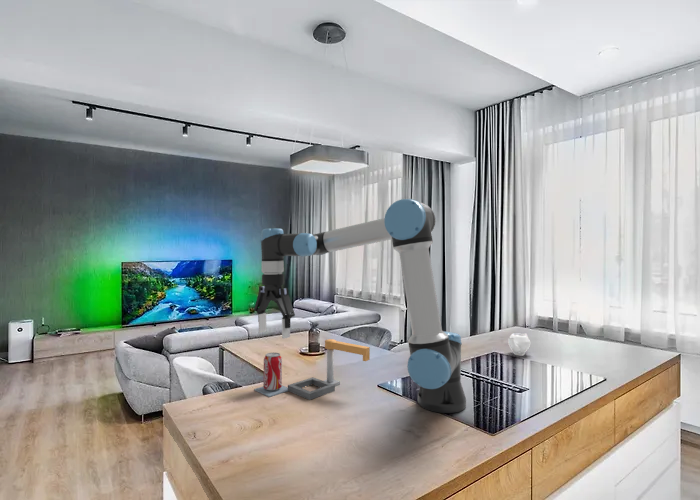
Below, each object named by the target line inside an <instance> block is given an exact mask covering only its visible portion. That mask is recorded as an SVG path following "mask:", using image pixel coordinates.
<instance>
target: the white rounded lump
mask: <svg viewBox="0 0 700 500" xmlns="http://www.w3.org/2000/svg"><path fill="white" fill-rule="evenodd" d="M507 344H508V346H509V348H510V350H511V351H512V353H513V355H514V356H521V357H522V356H523V357H524V356H525V354H526V351H528V350H529V348H530V346H531V340H530V338H529V336H528V333H522V332H521V333H520V332H514V333H511V334H510V335H509V337H508V338H507Z"/></svg>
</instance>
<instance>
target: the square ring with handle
mask: <svg viewBox="0 0 700 500" xmlns="http://www.w3.org/2000/svg"><path fill="white" fill-rule="evenodd" d="M334 351H335V349H326V379H324V380H321V379H319V378H316V377H314V376H313V377H310V378H306V379H303V380H301V381H296V382H294V383H289V384H287V388H288V391H287V392H289V393H292V394H293V395H296V394H297V396H299V397H302V398H304V399H307V400H309V401H310V400H314V399H316V398H320V397H321V396H324V395H328V394H330V393H334V392H335V391H336V386H340V385H341V382H340V381H339V380H337V379H334V377H335V376H334V374H335V373H334V372H335V371H334V369H335V368H334V366H335V363H334V361H335V358H334V357H335V355H334V354H335V352H334ZM311 384H314V385H316V386H315V387H317V386H318V387H317V389H313V390H311V391H309V390H307V389H305V388H306V387H305V386H307V387H309V386H308V385H310V386H312V385H311ZM314 385H313V386H314ZM302 387H304V388H302ZM320 387H321V388H320ZM327 393H328V394H327Z"/></svg>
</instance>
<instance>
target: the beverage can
mask: <svg viewBox="0 0 700 500" xmlns="http://www.w3.org/2000/svg"><path fill="white" fill-rule="evenodd" d="M282 376H283V357H282V356H281V353H280V352H267V353H265V356H264V357H263V386H262V387H264V388H265V389H266V390H268V391H275V390H278V389H279V388H281V387H282V385H283V381H282V379H283V377H282Z"/></svg>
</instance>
